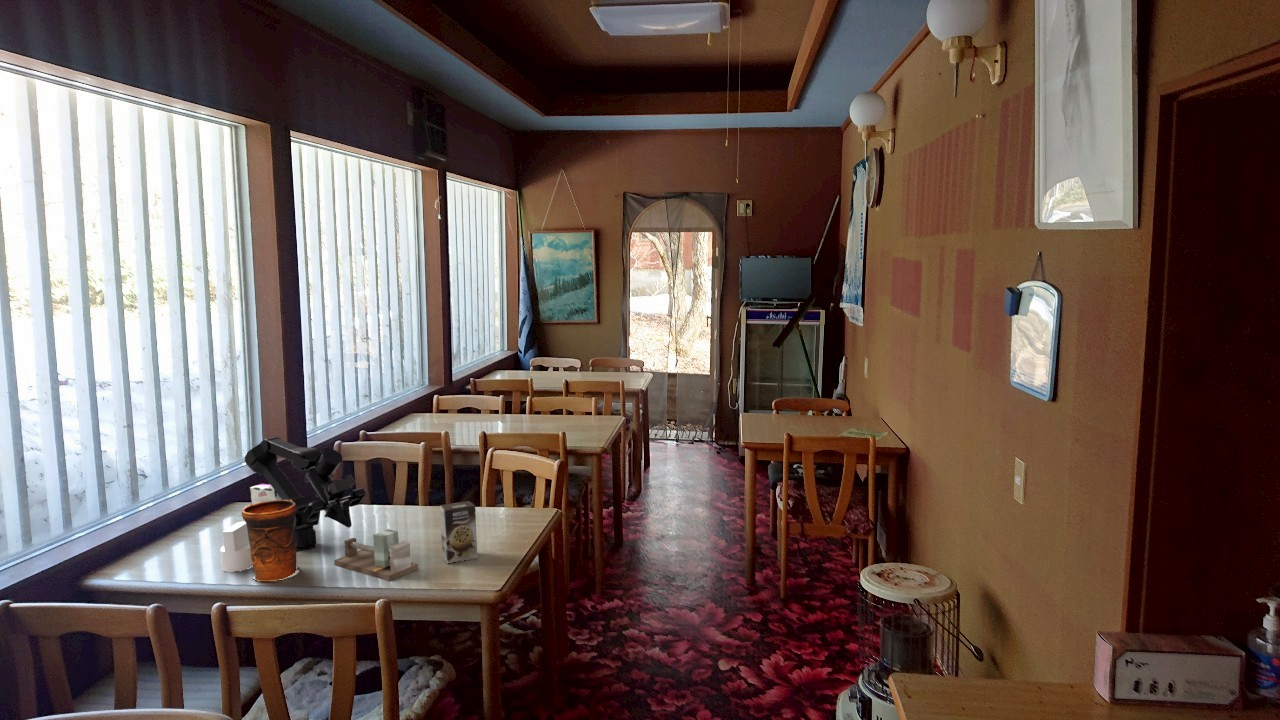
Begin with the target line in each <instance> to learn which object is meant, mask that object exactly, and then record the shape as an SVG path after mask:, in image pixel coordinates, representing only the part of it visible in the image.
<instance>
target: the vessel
mask: <svg viewBox="0 0 1280 720" xmlns="http://www.w3.org/2000/svg"><path fill="white" fill-rule="evenodd" d="M296 513H297V505H296V503H295V502H293V501H290V500H274V501H268V502H260V503H255V504H249V505H247V506H245V507H244V508H243V509H242V510H241V517H242V519H243V522H246V524H247V530H248V539H249V543H250V549H251V563H252V565H253V567H252V568H253V571H254V572H253V574H254V573H255V574H254V575H256V576H255V580H257V581H256V582H277V581H276V580H279V579H284V578H286V577H288V576H290V575H292V574H293V573H295V571H296V570H297V569H296V567H297V553H298V550H297V541H296V537H295V531H294V520H295V515H296ZM255 580H254V581H255Z"/></svg>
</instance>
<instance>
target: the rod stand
mask: <svg viewBox="0 0 1280 720" xmlns="http://www.w3.org/2000/svg"><path fill="white" fill-rule="evenodd" d="M410 544H411V543H410V542H407V541H404V540H403V541H401V542H399V543H398V544H395V545H393V546H390V547H389V550H390V552H388V556H389V557H390V566H388V567H386V568H382V567H379V566H375V556H374V546H371V545H368V544H364V543H361V542H357V538H355V537H351V538H348V539H346V540H344V553H345V555H344V556H342V557H339V558H336V559H334V560H333V562H334V564H333V565H334V566H336V567H341V568H343V569H348V570H350V571H354V572H356V573H361V574H364V575H368V576H371V577H375V578H378V579H381V580H385V581H388V582H391V581H394V580H396V579H398V578H401V577H402V576H406V575H407V574H410V573H412V572H415V571H418V570H419V564H418V563H416V562H412V561H411V545H410ZM414 570H415V571H414ZM409 572H410V573H409Z"/></svg>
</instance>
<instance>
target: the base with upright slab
mask: <svg viewBox="0 0 1280 720" xmlns="http://www.w3.org/2000/svg"><path fill="white" fill-rule="evenodd" d="M222 537H223V538H222V539H223V546H221V548H220V549H219V551H220V561H221V571H222V572H224V571H227V572H226V573H235V572H234V571H239V572H241V571H240V570H244V571H246V570H245V569H247V568H250V567H252V566H253V565H252V563H251V549H250V543H249V539H248V530H247V524H246V522H245V521H238V522H236V523H235V524H232V525H231V526H230V527H228V528H226V529H224V530H223V531H222ZM252 568H253V567H252ZM250 569H251V568H250ZM247 570H248V569H247Z"/></svg>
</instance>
